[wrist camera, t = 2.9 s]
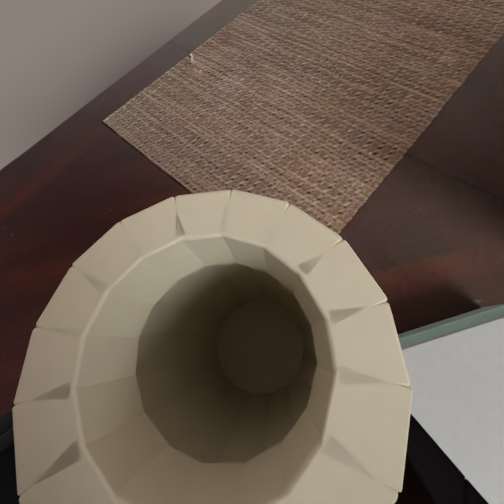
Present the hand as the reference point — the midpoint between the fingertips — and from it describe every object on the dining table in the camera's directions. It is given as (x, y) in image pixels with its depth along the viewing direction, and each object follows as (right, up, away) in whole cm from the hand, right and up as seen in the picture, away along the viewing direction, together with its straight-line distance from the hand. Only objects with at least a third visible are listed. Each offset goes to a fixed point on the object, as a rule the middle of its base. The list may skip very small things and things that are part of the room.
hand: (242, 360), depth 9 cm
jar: (+1, -2, +8) cm, 8 cm away
